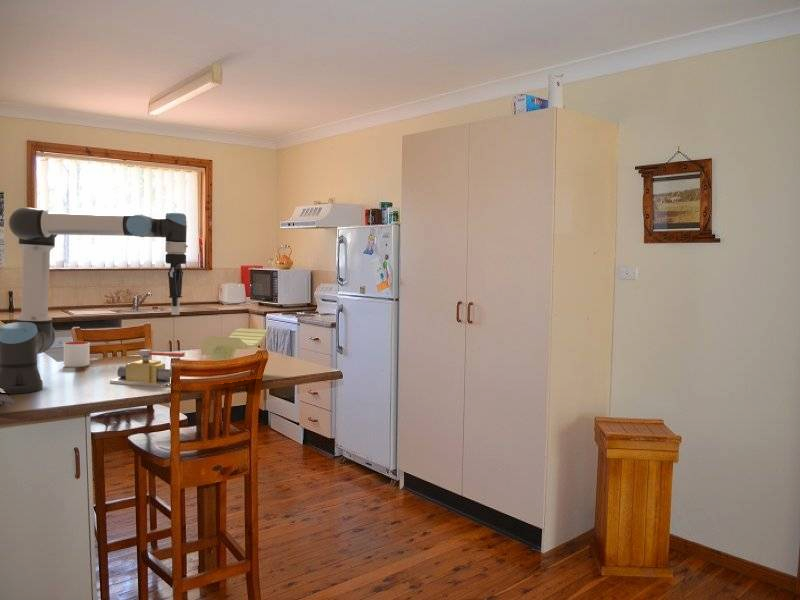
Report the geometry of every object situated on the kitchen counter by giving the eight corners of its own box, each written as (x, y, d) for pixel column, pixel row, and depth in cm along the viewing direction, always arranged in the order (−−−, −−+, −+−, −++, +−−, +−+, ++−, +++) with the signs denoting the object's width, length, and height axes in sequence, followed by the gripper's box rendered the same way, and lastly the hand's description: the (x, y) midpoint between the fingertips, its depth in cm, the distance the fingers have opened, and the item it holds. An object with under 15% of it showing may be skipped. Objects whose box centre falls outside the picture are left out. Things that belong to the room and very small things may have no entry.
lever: (137, 355, 239) (137, 350, 239) (143, 353, 244) (143, 349, 243) (180, 357, 237) (180, 353, 237) (185, 356, 242) (185, 351, 242)
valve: (179, 381, 246) (180, 354, 245) (163, 387, 234) (163, 359, 233) (129, 377, 250) (129, 351, 249) (109, 383, 238) (110, 356, 237)
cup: (82, 368, 266) (82, 345, 265) (58, 367, 266) (58, 344, 265) (94, 364, 276) (94, 341, 275) (71, 363, 276) (71, 341, 275)
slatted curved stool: (232, 367, 279) (233, 327, 278) (266, 369, 276) (267, 329, 275) (200, 380, 249) (201, 335, 248) (238, 382, 247) (239, 337, 246)
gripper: (181, 253, 234) (180, 316, 236) (190, 253, 247) (189, 313, 249) (160, 253, 234) (160, 315, 235) (170, 253, 247) (170, 312, 248)
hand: (175, 314), depth 242 cm, fingers closed
